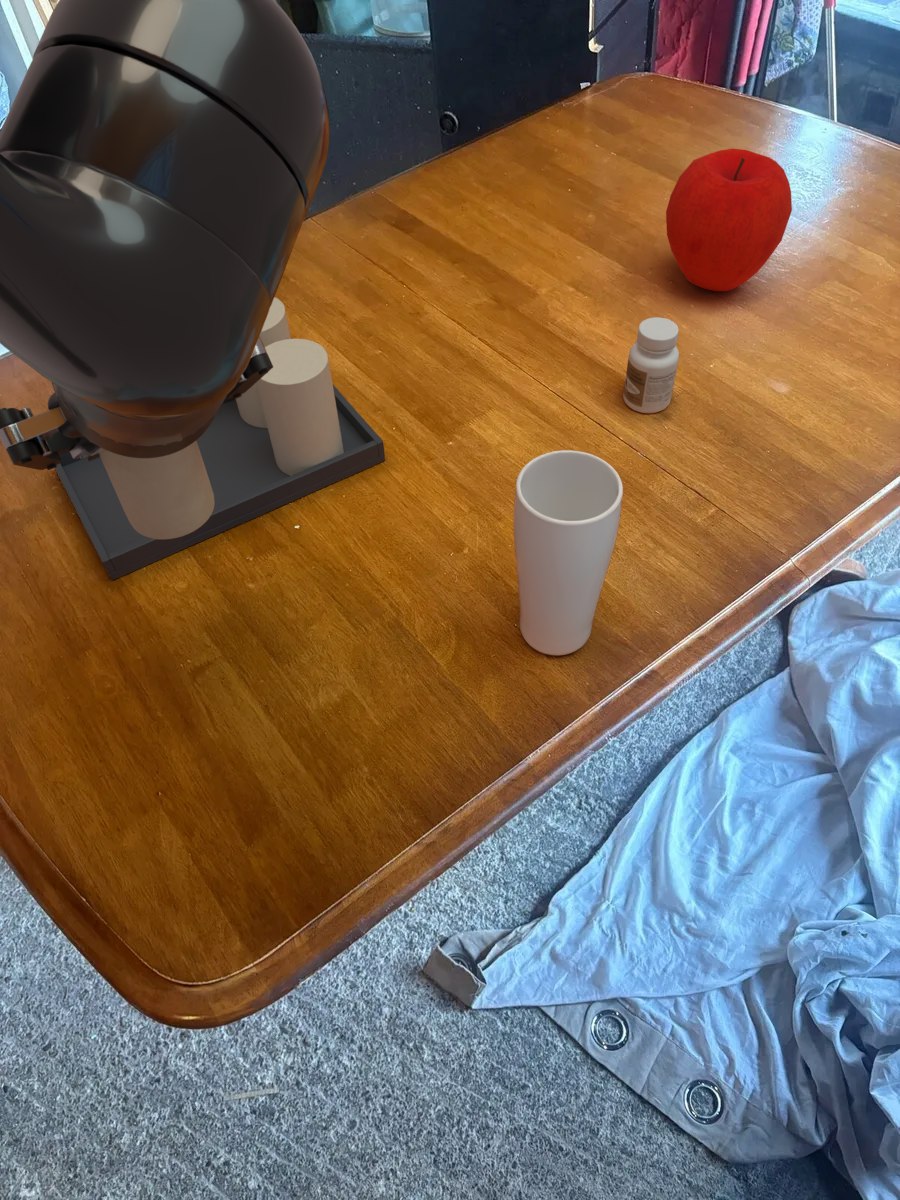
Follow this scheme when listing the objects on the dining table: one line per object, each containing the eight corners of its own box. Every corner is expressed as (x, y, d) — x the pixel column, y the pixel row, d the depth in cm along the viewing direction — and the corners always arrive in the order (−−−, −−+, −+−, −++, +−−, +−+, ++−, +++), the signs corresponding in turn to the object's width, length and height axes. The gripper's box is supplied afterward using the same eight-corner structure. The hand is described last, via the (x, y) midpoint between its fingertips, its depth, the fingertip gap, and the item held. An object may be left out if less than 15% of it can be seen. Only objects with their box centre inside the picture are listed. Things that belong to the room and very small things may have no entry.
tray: (111, 581, 71) (102, 562, 69) (56, 472, 79) (47, 453, 78) (385, 460, 79) (383, 441, 77) (309, 373, 87) (306, 353, 85)
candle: (111, 528, 56) (51, 400, 48) (159, 471, 59) (109, 343, 51) (187, 549, 55) (137, 421, 47) (231, 490, 58) (192, 361, 50)
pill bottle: (616, 388, 84) (626, 317, 78) (660, 381, 85) (674, 310, 79) (631, 418, 82) (642, 346, 75) (677, 410, 82) (692, 339, 76)
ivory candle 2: (293, 488, 76) (271, 394, 68) (264, 449, 79) (240, 354, 72) (355, 461, 78) (341, 366, 70) (324, 424, 81) (307, 329, 73)
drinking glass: (514, 591, 69) (519, 444, 57) (602, 598, 68) (625, 451, 57) (505, 662, 65) (509, 520, 53) (598, 671, 64) (623, 529, 53)
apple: (656, 314, 92) (678, 185, 81) (652, 252, 99) (672, 127, 88) (774, 318, 90) (812, 188, 80) (762, 256, 98) (795, 129, 87)
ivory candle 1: (255, 437, 80) (230, 342, 73) (229, 401, 84) (202, 308, 76) (315, 412, 82) (297, 318, 74) (287, 379, 86) (267, 285, 78)
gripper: (260, 220, 39) (220, 325, 55) (-78, 327, 35) (-16, 408, 51) (330, 381, 40) (271, 438, 56) (12, 504, 36) (46, 529, 52)
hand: (135, 424), depth 53 cm, fingers closed on candle, 5 cm apart
